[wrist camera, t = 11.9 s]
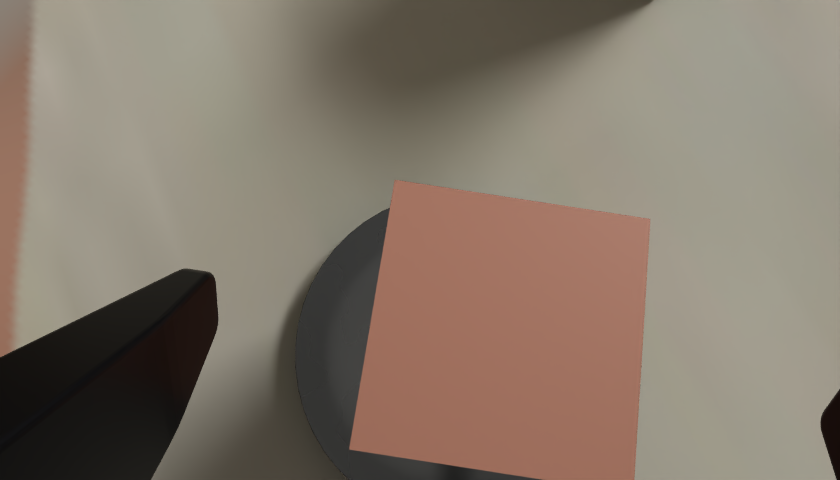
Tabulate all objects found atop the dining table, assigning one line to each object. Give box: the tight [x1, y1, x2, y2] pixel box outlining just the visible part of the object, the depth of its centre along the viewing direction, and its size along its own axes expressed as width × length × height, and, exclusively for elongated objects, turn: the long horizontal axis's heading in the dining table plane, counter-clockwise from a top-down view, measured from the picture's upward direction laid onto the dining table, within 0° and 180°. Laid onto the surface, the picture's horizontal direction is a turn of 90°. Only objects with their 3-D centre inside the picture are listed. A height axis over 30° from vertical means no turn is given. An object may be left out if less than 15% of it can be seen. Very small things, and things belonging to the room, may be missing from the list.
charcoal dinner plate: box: [296, 208, 542, 480], centre depth 18 cm, size 10×10×1 cm
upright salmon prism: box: [349, 180, 650, 480], centre depth 14 cm, size 4×4×8 cm
